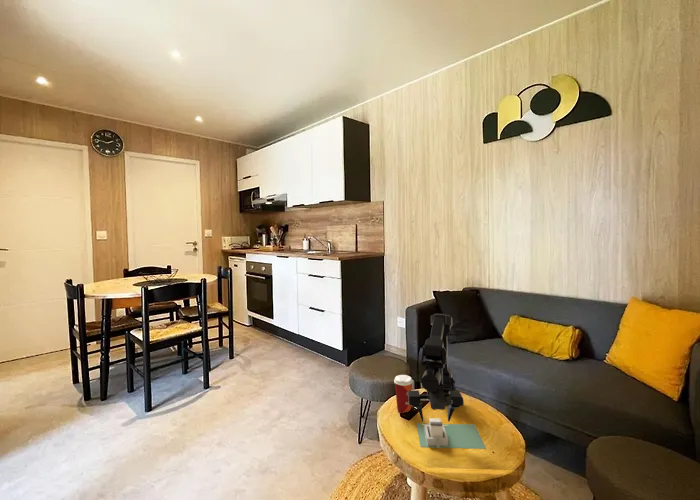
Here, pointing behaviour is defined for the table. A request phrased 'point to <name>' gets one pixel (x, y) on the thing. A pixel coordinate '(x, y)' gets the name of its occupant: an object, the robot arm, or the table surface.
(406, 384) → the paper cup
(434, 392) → the robot arm
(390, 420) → the table surface
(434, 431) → the plug
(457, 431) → the board
